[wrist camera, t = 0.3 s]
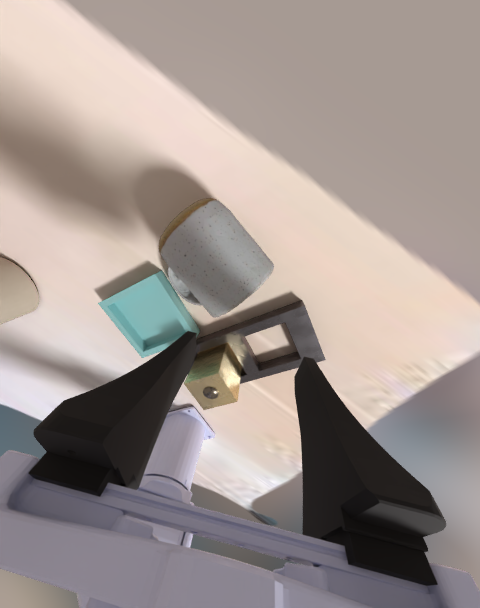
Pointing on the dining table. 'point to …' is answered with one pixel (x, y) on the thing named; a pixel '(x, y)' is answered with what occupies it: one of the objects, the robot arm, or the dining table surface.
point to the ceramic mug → (212, 257)
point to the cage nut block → (215, 377)
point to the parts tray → (149, 314)
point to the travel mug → (15, 292)
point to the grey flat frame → (236, 334)
